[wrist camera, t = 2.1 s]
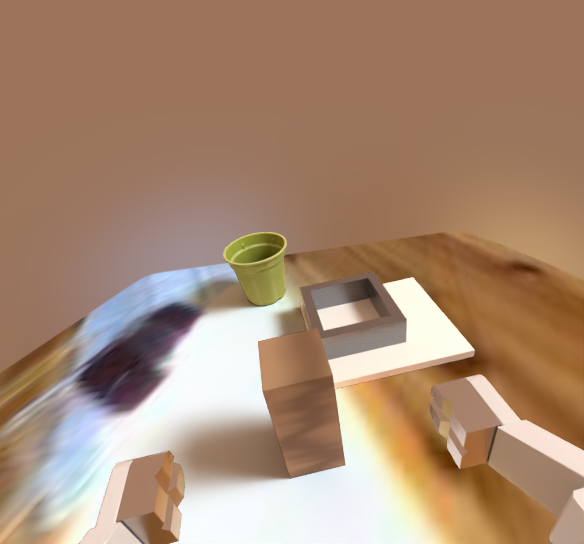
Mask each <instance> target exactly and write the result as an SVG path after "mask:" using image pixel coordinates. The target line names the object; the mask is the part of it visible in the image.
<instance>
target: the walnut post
mask: <svg viewBox="0 0 584 544" xmlns="http://www.w3.org/2000/svg"><path fill="white" fill-rule="evenodd" d="M258 348H259V358H260V369H261V379H262V390H263V394H264V397H265V400H266V403H267V407H268V410H269V413H270V416H271V419H272V422H273V426H274V429H275V432H276V435H277V438H278V441H279V444H280V448H281V451H282V454H283V457H284V460H285V463H286V466H287V470H288V473H289V476H290V478H294V477H299V476H303V475H307V474H311V473H315V472H319V471H323V470H327V469H331V468H335V467H339V466H343V465H345V459H344V452H343V445H342V438H341V431H340V423H339V416H338V409H337V402H336V395H335V388H334V380H333V374H332V371H331V368H330V365H329V362H328V359H327V356H326V353H325V350H324V347H323V343H322V340H321V337H320V334H319V331H318V328H315V329H311V330H306V331H302V332H298V333H293V334H289V335H284V336H280V337H275V338H271V339H267V340H262V341H258Z"/></svg>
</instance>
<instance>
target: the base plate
mask: <svg viewBox="0 0 584 544" xmlns="http://www.w3.org/2000/svg"><path fill="white" fill-rule="evenodd" d="M383 285H384V287H385V288H386V290H387V291H388V293H389V294H390V296H391V297H392V299H393V300H394V301H395V303H396V304H397V306H398V307H399V309H400V310H401V312H402V313H403V315H404V316H405V317H406V319H407V331H406V342H404V343H400V344H396V345H391V346H387V347H383V348H378V349H374V350H370V351H365V352H361V353H357V354H352V355H348V356H344V357H339V358H335V359H331V360H328V362H329V365H330V368H331V371H332V374H333V380H334V388H335V389H337V388H342V387H346V386H350V385H354V384H359V383H363V382H367V381H371V380H376V379H380V378H384V377H388V376H393V375H397V374H401V373H405V372H410V371H414V370H418V369H422V368H427V367H431V366H435V365H439V364H444V363H448V362H452V361H456V360H461V359H465V358H469V357H473V356H474V351H475V350H474V349H473V347H472V346H471V345H470V344H469V343H468V342H467V340H466V339H465V338H464V337H463V336H462V335H461V333H460V332H459V331H458V330H457V329H456V328H455V326H454V325H453V324H452V323H451V322H450V320H449V319H448V318H447V317H446V316H445V315H444V313H443V312H442V311H441V310H440V309H439V308H438V306H437V305H436V304H435V303H434V302H433V300H432V299H431V298H430V297H429V296H428V295H427V293H426V292H425V291H424V290H423V289H422V288H421V286H420V285H419V284H418V283H417V282H416V281H415V279H414V278H408V279H404V280H399V281H395V282H390V283H386V284H383ZM300 307H301V311H302V314H303V318H304V321H305V325H306V328H307V330H310V328H309V325H308V322H307V318H306V315H305V312H304V308H303V303H302V302H300ZM317 312H318V315H319V318H320V321H321V324H322V327H323V329H324V330H329V329H333V328H337V327H342V326H346V325H351V324H355V323H359V322H364V321H368V320H373V319H377V318H380V316H379V314H378V312H377V311H376V309H375V307H374V306H373V304H372V302H371V301H370V299H365V300H360V301H356V302H351V303H347V304H342V305H338V306H333V307H329V308H324V309H320V310H317Z"/></svg>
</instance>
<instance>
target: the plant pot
mask: <svg viewBox="0 0 584 544" xmlns="http://www.w3.org/2000/svg"><path fill="white" fill-rule="evenodd" d="M286 246H287V242H286V239H285V238H284V237H283V236H282V235H280V234H277V233H272V232H260V233H254V234H250V235H246V236H243V237H241V238H239V239H237V240H235V241H233V242H232V243H230V244H229V245H228V246H227V247H226V248H225V250H224V252H223V257H224V259H225V261H226V262H227V263H229V264H230V266H231V268H232V269H234V271H235V273H236V275H237V277H238V279H239V281H240V283H241V285H242V287H243V289H244V292H245V294H246V296H247V298H248V300H249V301H250V302H252V303H254V304H255V305H269V304H272V303H275V302H276V301H277V300H278V299H279V298H281V297H283V296H284V294H285V291H286V289H285V273H284V255H285V248H286Z"/></svg>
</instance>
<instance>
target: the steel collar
mask: <svg viewBox="0 0 584 544" xmlns="http://www.w3.org/2000/svg"><path fill="white" fill-rule="evenodd" d="M300 292H301V297H302V303H303V308H304V312H305V315H306V318H307V322H308V325H309V328H310V330H311V329H315V328H318V331H319V334H320V337H321V340H322V343H323V347H324V350H325V353H326V356H327V359H328V360H331V359H335V358H339V357H344V356H348V355H352V354H357V353H361V352H365V351H370V350H374V349H378V348H383V347H387V346H391V345H396V344H400V343H404V342H406V331H407V319H406V317H405V316H404V315H403V313H402V312H401V310H400V309H399V307H398V306H397V304H396V303H395V301H394V300H393V299H392V297H391V296H390V294H389V293H388V291H387V290H386V288H385V287H384V285H383V284H382V283H381V281H380V280H379V278H378V277H377V275H376V274H375V272H374V271H373V272H368V273H364V274H359V275H355V276H350V277H346V278H341V279H337V280H332V281H328V282H323V283H319V284H314V285H310V286H305V287H301V288H300ZM365 299H370V301H371V302H372V304H373V306H374V307H375V309H376V311H377V312H378V314H379V316H380V318H377V319H373V320H368V321H364V322H359V323H355V324H351V325H346V326H342V327H337V328H333V329H329V330H324V329H323V327H322V324H321V321H320V318H319V315H318V312H317V310H320V309H324V308H329V307H333V306H338V305H342V304H347V303H351V302H356V301H360V300H365Z"/></svg>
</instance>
